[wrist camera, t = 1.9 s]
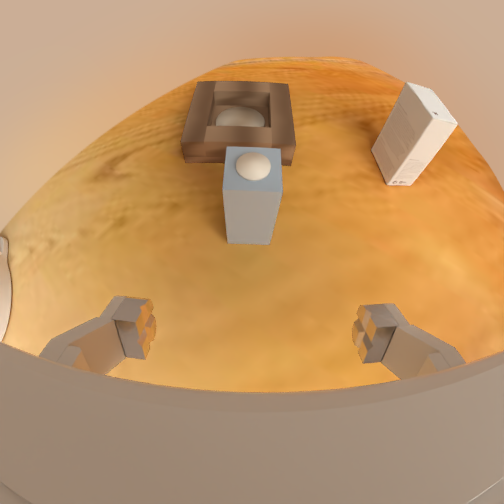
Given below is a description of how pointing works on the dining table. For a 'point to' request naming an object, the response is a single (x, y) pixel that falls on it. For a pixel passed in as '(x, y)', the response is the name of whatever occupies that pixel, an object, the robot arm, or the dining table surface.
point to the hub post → (251, 193)
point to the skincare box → (412, 135)
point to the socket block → (238, 120)
